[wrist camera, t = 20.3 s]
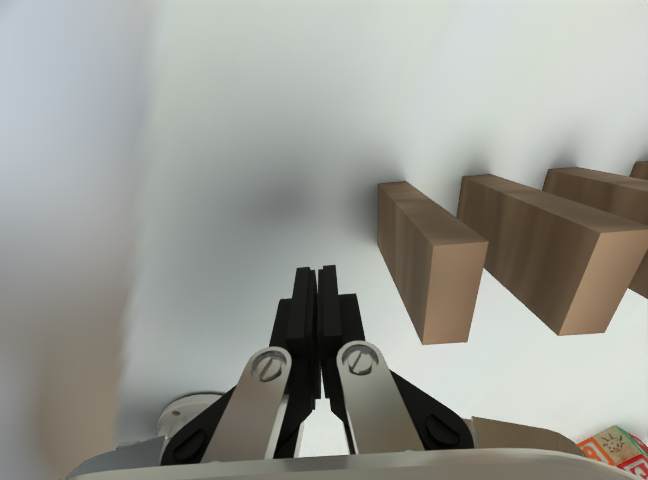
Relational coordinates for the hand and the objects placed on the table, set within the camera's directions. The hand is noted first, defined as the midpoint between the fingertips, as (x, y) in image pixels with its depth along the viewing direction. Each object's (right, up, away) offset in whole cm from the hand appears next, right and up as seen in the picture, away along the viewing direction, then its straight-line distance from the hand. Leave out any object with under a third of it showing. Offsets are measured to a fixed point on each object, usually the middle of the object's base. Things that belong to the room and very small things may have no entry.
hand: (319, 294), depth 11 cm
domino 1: (+5, +4, +8) cm, 11 cm away
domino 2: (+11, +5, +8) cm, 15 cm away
